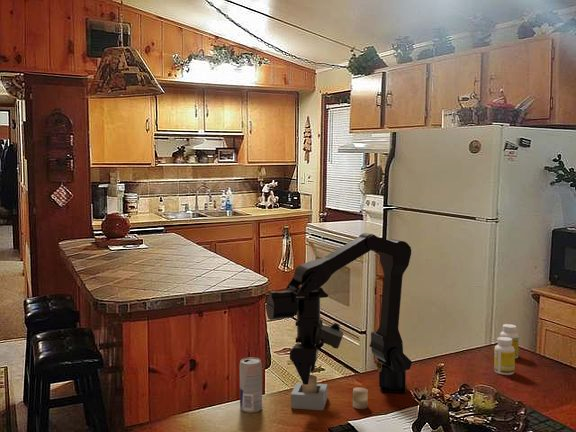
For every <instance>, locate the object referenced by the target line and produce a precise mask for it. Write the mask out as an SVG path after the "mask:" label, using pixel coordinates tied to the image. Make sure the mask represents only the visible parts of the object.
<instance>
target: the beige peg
mask: <svg viewBox="0 0 576 432" xmlns="http://www.w3.org/2000/svg"><path fill="white" fill-rule="evenodd" d="M317 382H318V379H317V376H316V375H313V374H310V377H309V382H308V385H305V384H303V382H302V381H301V383H302V393H317V384H318V383H317Z"/></svg>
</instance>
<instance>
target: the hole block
mask: <svg viewBox="0 0 576 432" xmlns="http://www.w3.org/2000/svg"><path fill="white" fill-rule="evenodd" d="M327 397H328V384H327V383H317V393H302V382H296V383H295V385H294V387H293V389H292V391H291V393H290V408H291V409H295V410H297V409H299V410H310V411H324V410H325V407H326V404H327V400H328V398H327Z"/></svg>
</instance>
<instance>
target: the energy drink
mask: <svg viewBox="0 0 576 432" xmlns="http://www.w3.org/2000/svg"><path fill="white" fill-rule="evenodd" d="M262 365H263V364H262V361H261V359H260V358H258V357H253V356H252V357H244V358H242V359H240V362H239V409H240V411H242V412H244V413H246V414H252V413H253V414H254V413H258V412H260V411H261V410H262V408H263V379H262V378H263V376H262V375H263V374H262V372H263V371H262V370H263V369H262V368H263V367H262Z"/></svg>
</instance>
